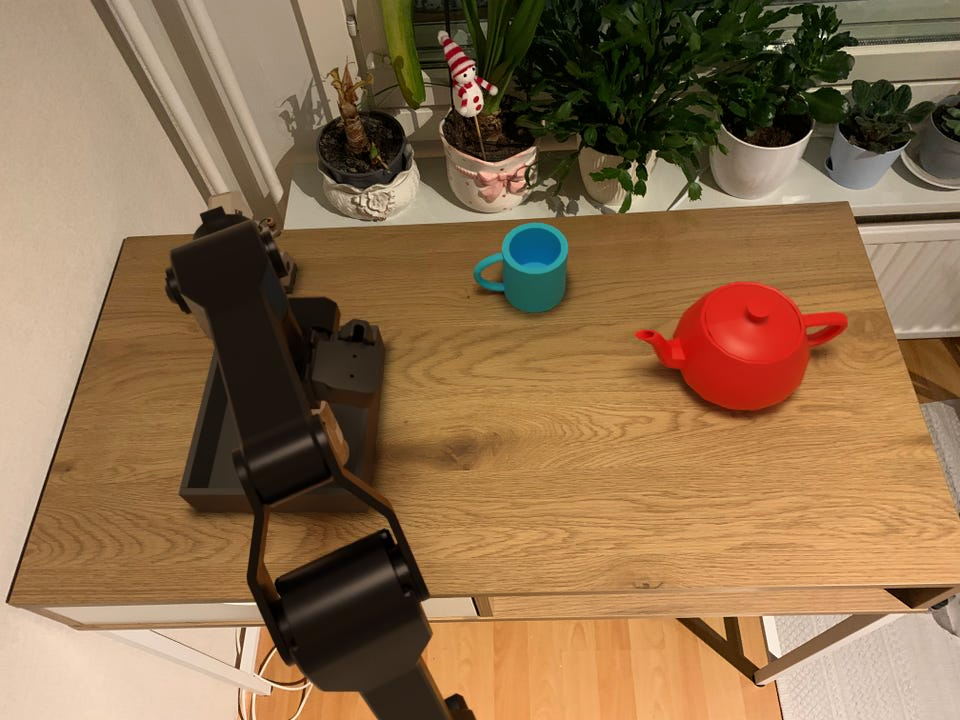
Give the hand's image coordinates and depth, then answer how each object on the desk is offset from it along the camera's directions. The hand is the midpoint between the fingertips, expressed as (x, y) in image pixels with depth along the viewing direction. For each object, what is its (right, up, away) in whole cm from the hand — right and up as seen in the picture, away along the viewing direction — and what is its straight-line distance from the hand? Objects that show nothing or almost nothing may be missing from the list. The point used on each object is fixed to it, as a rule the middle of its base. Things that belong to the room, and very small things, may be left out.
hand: (316, 427), depth 73 cm
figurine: (-13, +16, +25) cm, 32 cm away
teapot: (+47, +6, +16) cm, 50 cm away
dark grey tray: (-6, -1, +14) cm, 15 cm away
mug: (+22, +16, +23) cm, 36 cm away
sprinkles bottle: (0, -4, +5) cm, 7 cm away
